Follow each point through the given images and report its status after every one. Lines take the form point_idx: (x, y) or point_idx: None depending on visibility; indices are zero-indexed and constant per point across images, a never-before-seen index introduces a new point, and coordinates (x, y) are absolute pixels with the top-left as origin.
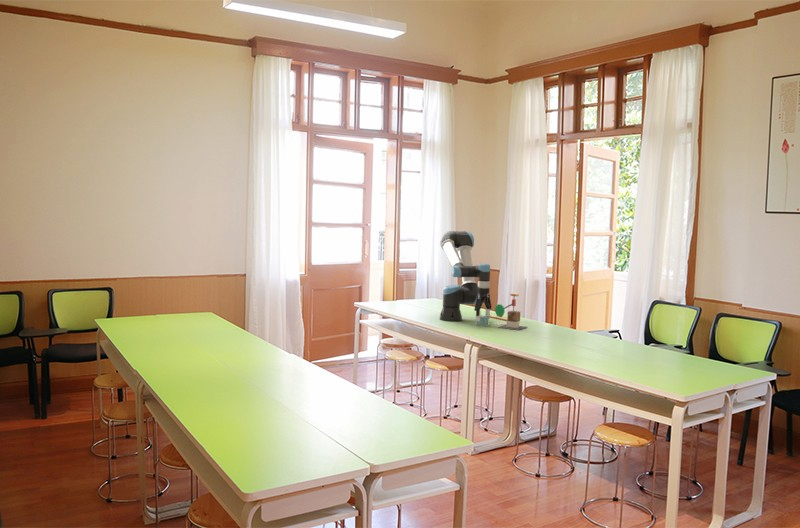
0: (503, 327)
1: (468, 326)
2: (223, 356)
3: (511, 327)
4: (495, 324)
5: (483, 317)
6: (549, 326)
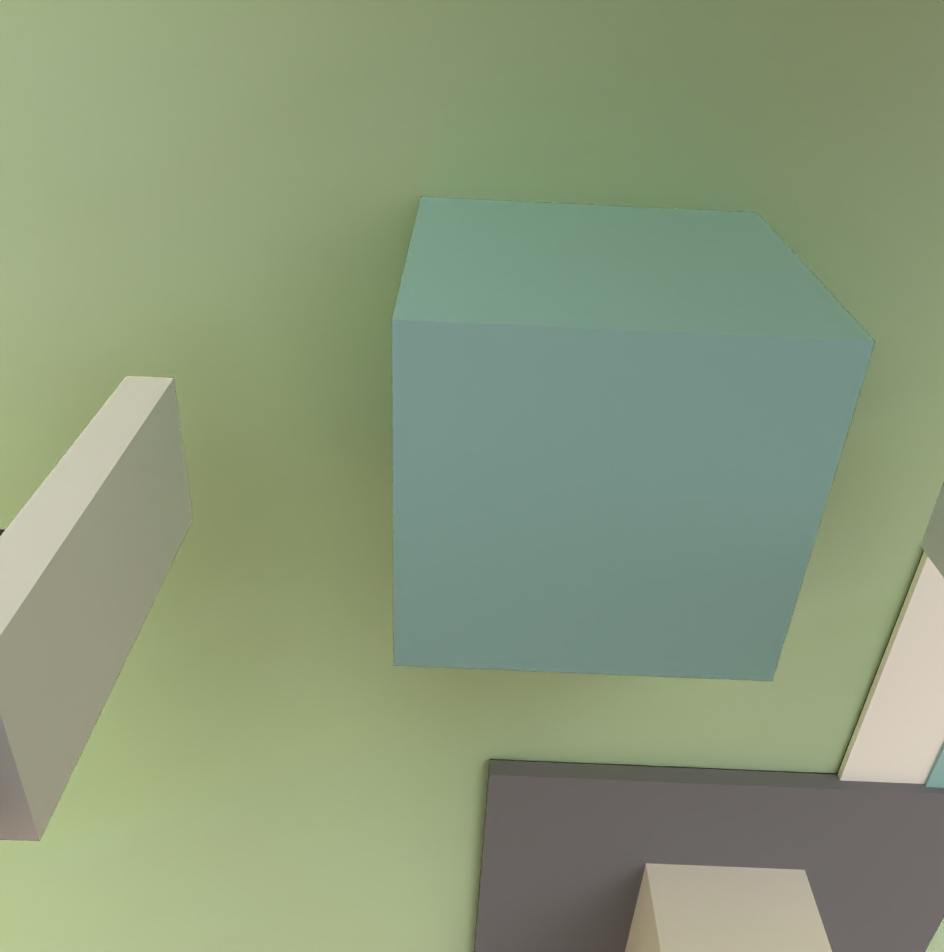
0: (504, 853)
1: (18, 66)
2: None
3: (611, 937)
4: (913, 588)
5: (394, 623)
6: None
